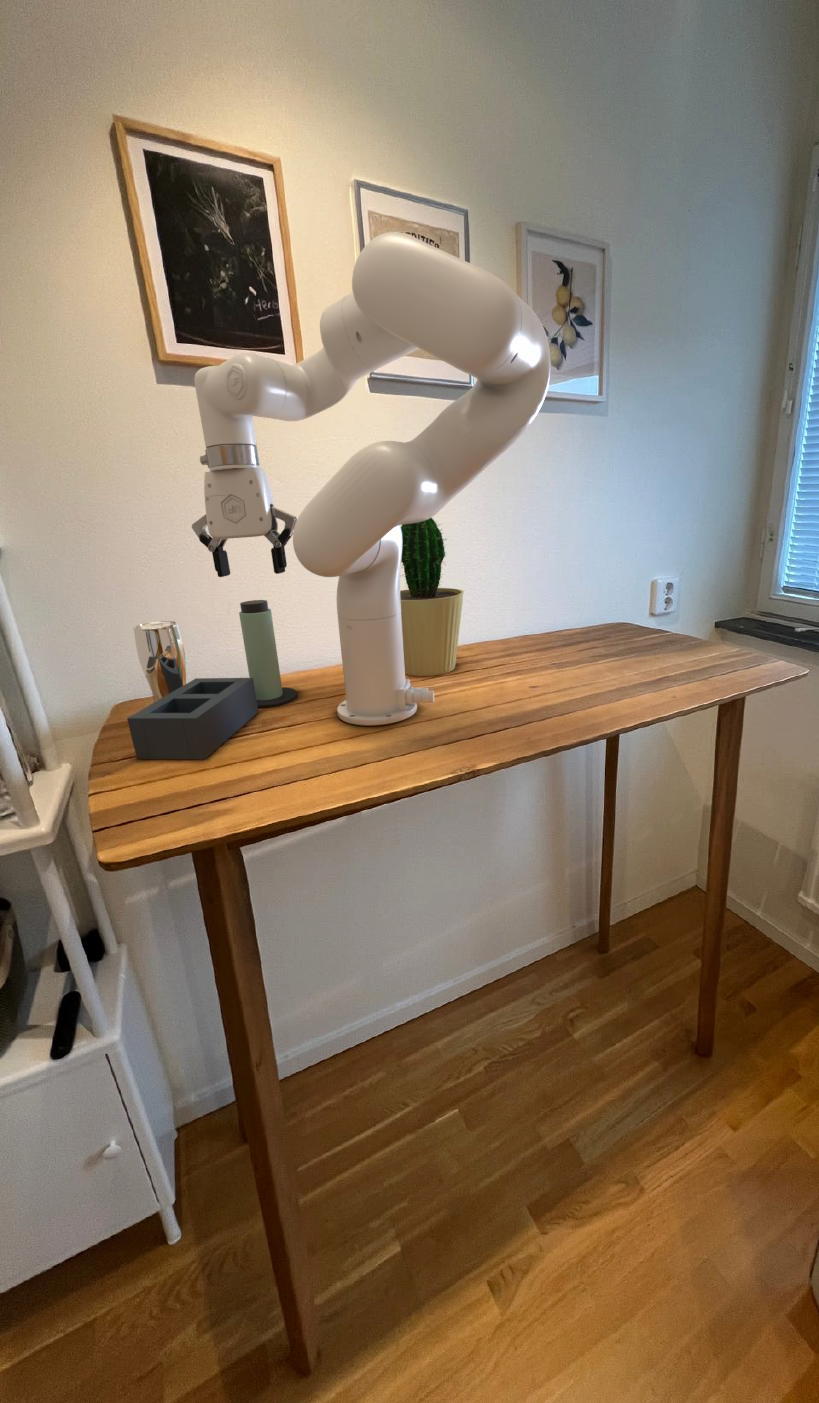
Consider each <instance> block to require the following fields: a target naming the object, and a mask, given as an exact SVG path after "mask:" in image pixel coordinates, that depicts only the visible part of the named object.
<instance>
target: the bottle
mask: <svg viewBox="0 0 819 1403" xmlns="http://www.w3.org/2000/svg"><path fill="white" fill-rule="evenodd" d="M239 605H240V606H239V607H240V611H239V612H238V615H239V621H240V627H241V634H242V639H243V646H244V652H245V653H244V654H245V658H246V664H247V670H248V671H247V672H248V678H253V682H254V688H255V694H256V700H271V699H275V698H278V697H280V696H282V694H283V691H282V687H283V684H282V678H281V671H280V665H279V664H280V663H279V656H278V650H277V643H276V642H277V641H276V635H275V629H274V628H275V627H274V622H273V614H272V609H271V608H269V603H268V600H266V599H253V600H245V601H242V602H240V603H239Z"/></svg>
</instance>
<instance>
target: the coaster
mask: <svg viewBox="0 0 819 1403" xmlns="http://www.w3.org/2000/svg"><path fill="white" fill-rule="evenodd" d="M282 691H283V694H282V696H280V697H278V698H275V699H271V700H256V701H257V707H258V709H266V708H273V707H278V706H283V705H286V704H289V703H291V702H293V701H294V700H296V699H297V698H298V696H299V694H298V691H297V689H295V688H291V687H288V686H287V687H286V686H282Z"/></svg>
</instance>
